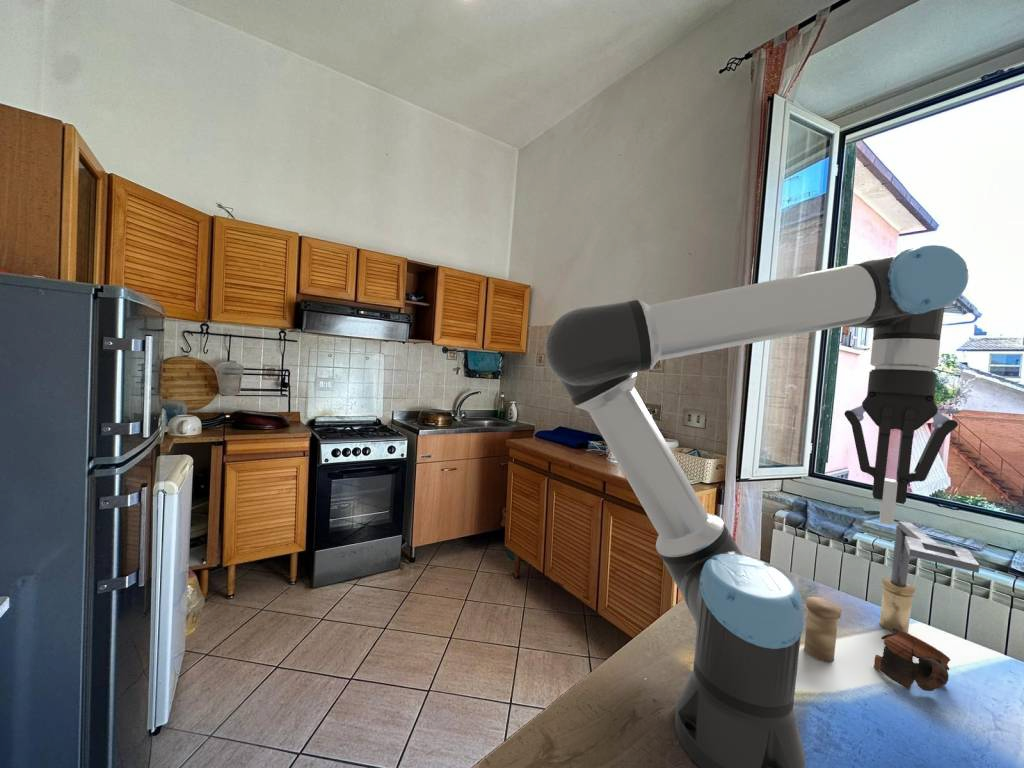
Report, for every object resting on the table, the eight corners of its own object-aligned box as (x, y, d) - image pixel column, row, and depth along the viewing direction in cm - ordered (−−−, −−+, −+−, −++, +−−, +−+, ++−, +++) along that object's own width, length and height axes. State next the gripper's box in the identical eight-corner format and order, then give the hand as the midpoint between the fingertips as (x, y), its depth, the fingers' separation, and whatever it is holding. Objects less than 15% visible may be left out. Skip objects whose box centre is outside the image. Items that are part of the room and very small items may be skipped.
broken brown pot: (856, 657, 77) (875, 616, 78) (909, 692, 75) (929, 650, 76) (907, 688, 66) (929, 640, 67) (972, 730, 63) (994, 680, 64)
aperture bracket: (882, 671, 73) (896, 545, 72) (877, 617, 90) (887, 515, 89) (963, 701, 67) (979, 565, 66) (941, 638, 84) (953, 529, 83)
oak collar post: (800, 653, 76) (805, 604, 76) (803, 640, 80) (808, 593, 80) (835, 667, 73) (840, 615, 73) (836, 653, 77) (841, 604, 77)
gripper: (959, 372, 63) (941, 528, 64) (847, 367, 71) (833, 505, 72) (970, 370, 57) (950, 542, 58) (847, 365, 65) (832, 515, 66)
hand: (886, 521), depth 65 cm, fingers closed
